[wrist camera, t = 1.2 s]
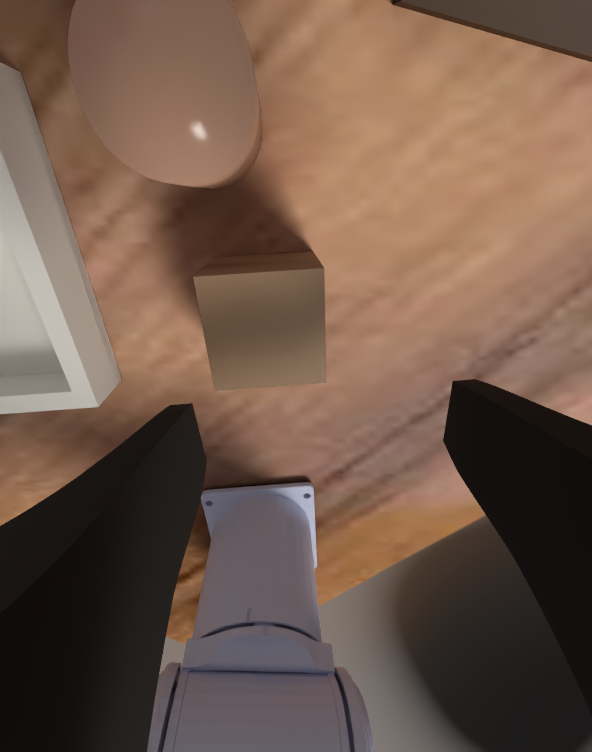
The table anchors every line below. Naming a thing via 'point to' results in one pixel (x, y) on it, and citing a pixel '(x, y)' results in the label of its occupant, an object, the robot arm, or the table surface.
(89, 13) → the beige rounded cylinder
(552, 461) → the robot arm
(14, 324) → the off-white tray
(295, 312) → the walnut cube
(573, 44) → the pan flute
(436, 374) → the table surface
